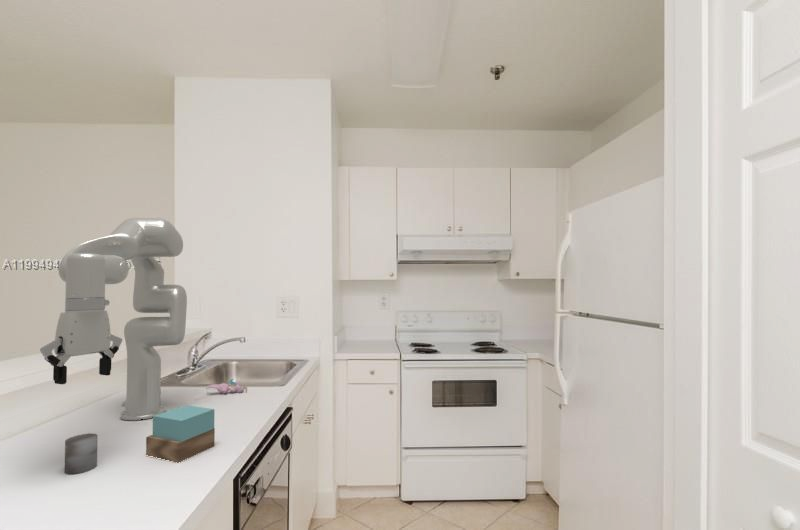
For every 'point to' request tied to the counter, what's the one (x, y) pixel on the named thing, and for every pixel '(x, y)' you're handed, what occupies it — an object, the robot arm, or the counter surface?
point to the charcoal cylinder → (80, 454)
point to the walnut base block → (179, 446)
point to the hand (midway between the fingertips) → (83, 379)
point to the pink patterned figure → (225, 388)
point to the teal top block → (183, 423)
